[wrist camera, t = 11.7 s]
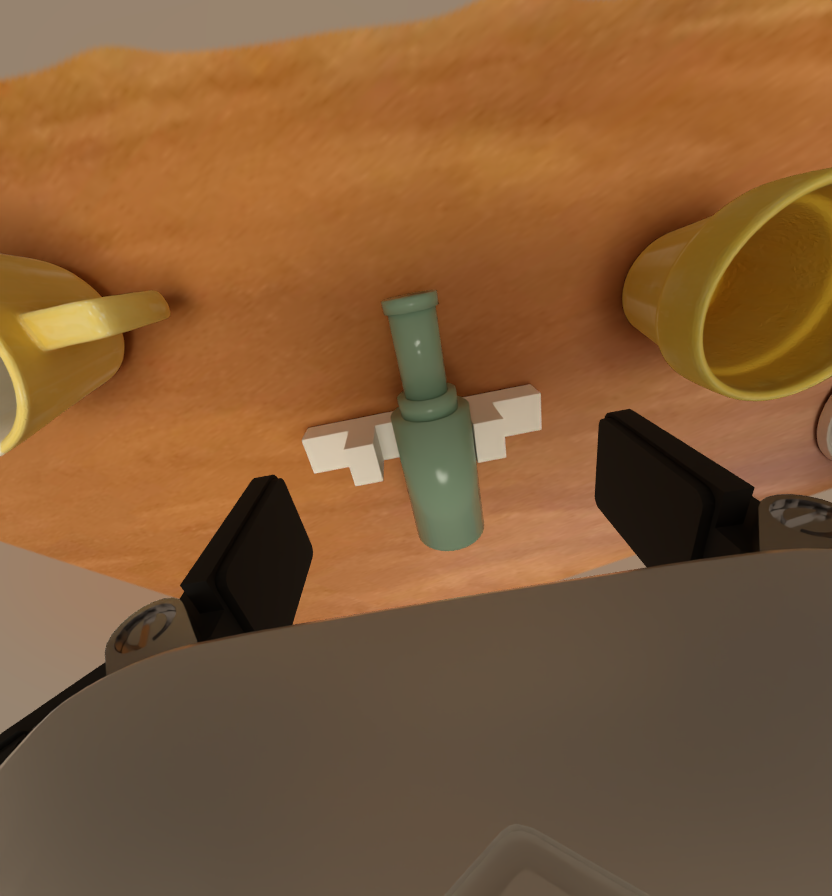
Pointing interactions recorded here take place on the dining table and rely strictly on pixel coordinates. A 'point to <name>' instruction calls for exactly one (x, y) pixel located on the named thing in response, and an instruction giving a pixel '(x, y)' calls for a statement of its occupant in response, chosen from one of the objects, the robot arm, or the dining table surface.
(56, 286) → the mug
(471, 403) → the u rest
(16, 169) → the dining table surface
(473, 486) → the green bottle
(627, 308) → the plant pot
